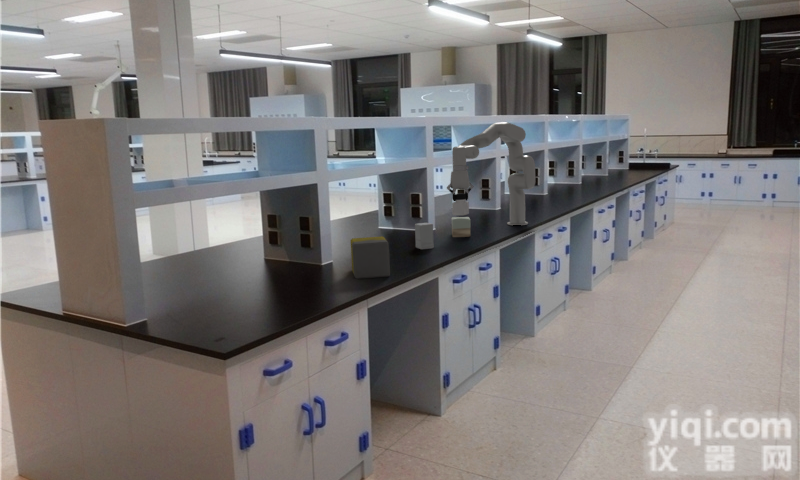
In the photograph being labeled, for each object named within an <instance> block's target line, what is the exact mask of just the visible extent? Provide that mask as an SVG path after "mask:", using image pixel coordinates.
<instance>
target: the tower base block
mask: <svg viewBox="0 0 800 480" xmlns="http://www.w3.org/2000/svg"><path fill="white" fill-rule="evenodd" d="M451 236H452V238H465V237H467V238H469V237H471V228H462V229H453V228H452V227H451Z"/></svg>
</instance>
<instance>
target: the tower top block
mask: <svg viewBox="0 0 800 480" xmlns="http://www.w3.org/2000/svg"><path fill="white" fill-rule="evenodd" d="M471 220H472V219H470V217H469V216H460V217H459V216H458V217H457V216H454V217H451V229H452V228H453V229H462V228H470V229H471V226H472V225H471Z"/></svg>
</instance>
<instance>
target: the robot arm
mask: <svg viewBox="0 0 800 480" xmlns="http://www.w3.org/2000/svg"><path fill="white" fill-rule="evenodd" d="M526 135H527V134H526V131H525V129H524V128H523V127H521V126H518V125H516V124H515V123H514V124H513V123H511V122H507V121H505V122H504V121H503V122H494V123H492V124H491V125H489V126H488V127H487V128H486V129H484V130H483V131H481V132H480V133H478V134H476V135H474V136H472V137H470V138H468V139H466V140H464V141H463V142H461V143H460V144H459V145H458V146H454V147H452V150H451V151H452V171H451V173H450V179H449V181H450V182H449V184H448V185H447V186H446V190H448V191H449V192H450V194H451V195H452V197H451V199H452V200H453V202H456V194H457V193H456V192H457V190H464V194H465V195H466V201H468V200H469V193H470V192H471V191H472V189H473V188H474V185H473V184H472V183H471V182H470V178H469V172H468V169H469V168H470V166H469V165H467V160H474V159H476V158H478V156H480V150H479V149H483V148H486V147H489V146H490V145H491V144H493V143H494V142H495V141H496V140H498V139H499V138H500V140H501V141H502V142H503V143H505V144H506V146H507V149H508V164H509V168H510V170H511V171H514V172H515V173H512V174H510V175H509V176H508V177H507V185H508V193H509V221H508V222H506V223H507V225H508V226H513V225H521V226H526V225H528V224H529V222H528V221H526V195H525V191H524V190H532V189H534V187H535V186H536V162H535V160H534V158H533V157H532V156H531V155H524V148H523V145H522V142H523V141H524V140H525V139H526ZM519 172H520V173H519ZM521 172H522V173H521Z"/></svg>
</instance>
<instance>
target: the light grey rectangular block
mask: <svg viewBox="0 0 800 480" xmlns="http://www.w3.org/2000/svg"><path fill="white" fill-rule="evenodd" d="M455 194H456V201H453V202H452V203H451V207H452V208H451V210H452V212H451V213H452V215H453V216H461V217H465V216H466V215H469V214H470V204H469V201H468V200H467V201H466V195H465V192H464V193H463V192H460V193H455Z"/></svg>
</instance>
